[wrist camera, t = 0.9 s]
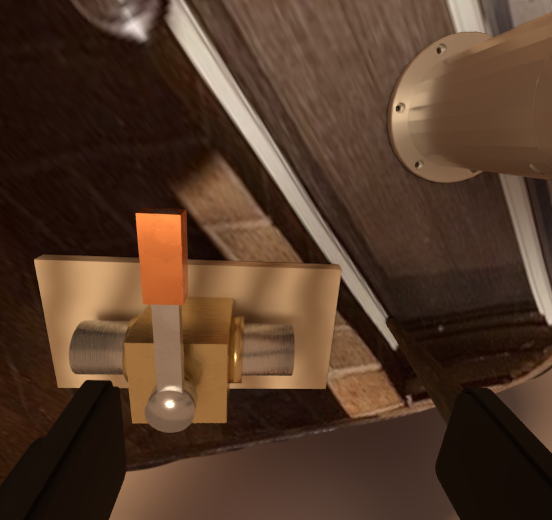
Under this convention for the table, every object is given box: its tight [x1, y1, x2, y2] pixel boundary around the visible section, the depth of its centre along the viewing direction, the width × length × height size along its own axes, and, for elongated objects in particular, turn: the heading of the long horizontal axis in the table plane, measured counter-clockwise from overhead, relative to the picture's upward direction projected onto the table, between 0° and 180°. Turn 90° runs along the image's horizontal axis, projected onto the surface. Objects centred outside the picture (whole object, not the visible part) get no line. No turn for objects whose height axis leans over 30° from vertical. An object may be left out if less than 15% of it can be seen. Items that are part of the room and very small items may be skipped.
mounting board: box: [34, 255, 341, 389], centre depth 37 cm, size 30×15×2 cm, turn 87°
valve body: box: [69, 297, 295, 423], centre depth 31 cm, size 20×8×10 cm, turn 87°
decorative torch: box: [386, 318, 464, 426], centre depth 25 cm, size 7×7×30 cm
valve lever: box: [136, 208, 198, 433], centre depth 24 cm, size 17×4×2 cm, turn 177°
